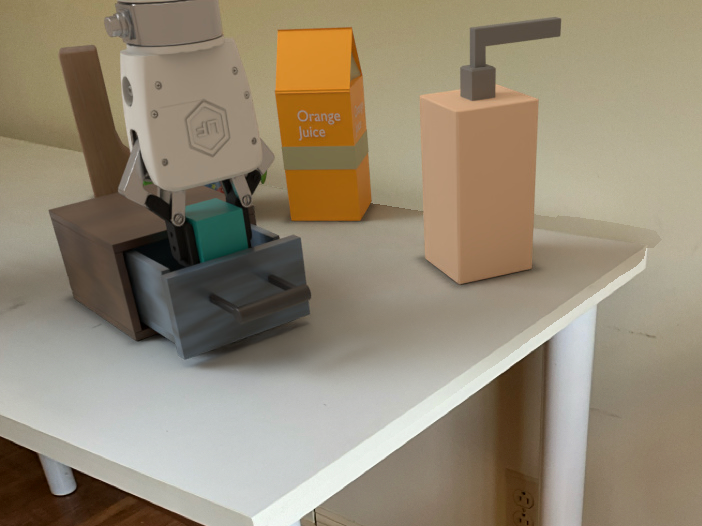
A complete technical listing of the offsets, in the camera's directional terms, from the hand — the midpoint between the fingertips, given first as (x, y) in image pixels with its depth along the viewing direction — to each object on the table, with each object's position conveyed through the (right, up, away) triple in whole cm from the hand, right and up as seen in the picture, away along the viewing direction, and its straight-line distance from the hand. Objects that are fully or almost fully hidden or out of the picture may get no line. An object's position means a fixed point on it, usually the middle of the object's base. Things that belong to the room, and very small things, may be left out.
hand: (214, 256), depth 79 cm
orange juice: (+8, +16, +32) cm, 36 cm away
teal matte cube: (0, 0, 0) cm, 0 cm away
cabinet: (-7, 0, +12) cm, 14 cm away
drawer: (0, -5, +4) cm, 6 cm away
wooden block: (-20, +21, +41) cm, 50 cm away
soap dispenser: (+27, +4, +16) cm, 31 cm away
